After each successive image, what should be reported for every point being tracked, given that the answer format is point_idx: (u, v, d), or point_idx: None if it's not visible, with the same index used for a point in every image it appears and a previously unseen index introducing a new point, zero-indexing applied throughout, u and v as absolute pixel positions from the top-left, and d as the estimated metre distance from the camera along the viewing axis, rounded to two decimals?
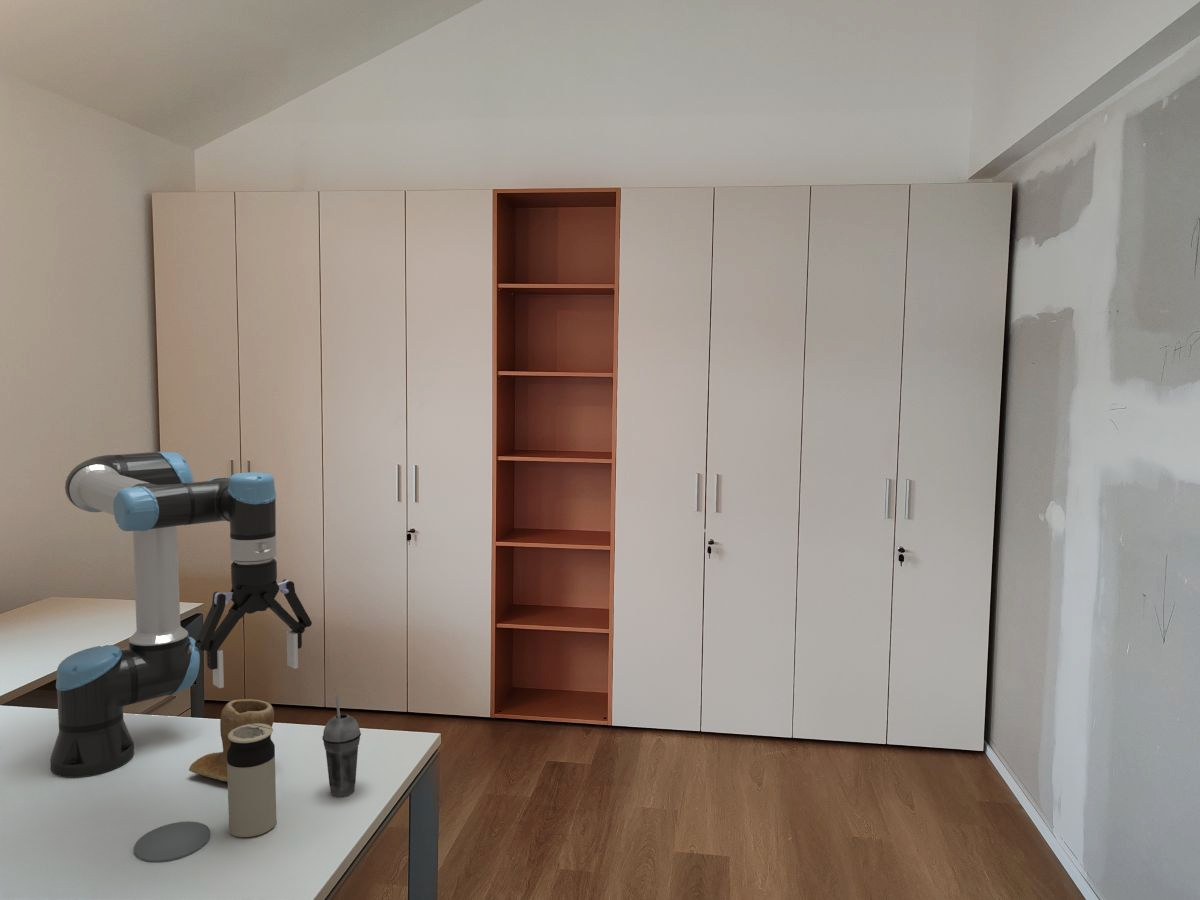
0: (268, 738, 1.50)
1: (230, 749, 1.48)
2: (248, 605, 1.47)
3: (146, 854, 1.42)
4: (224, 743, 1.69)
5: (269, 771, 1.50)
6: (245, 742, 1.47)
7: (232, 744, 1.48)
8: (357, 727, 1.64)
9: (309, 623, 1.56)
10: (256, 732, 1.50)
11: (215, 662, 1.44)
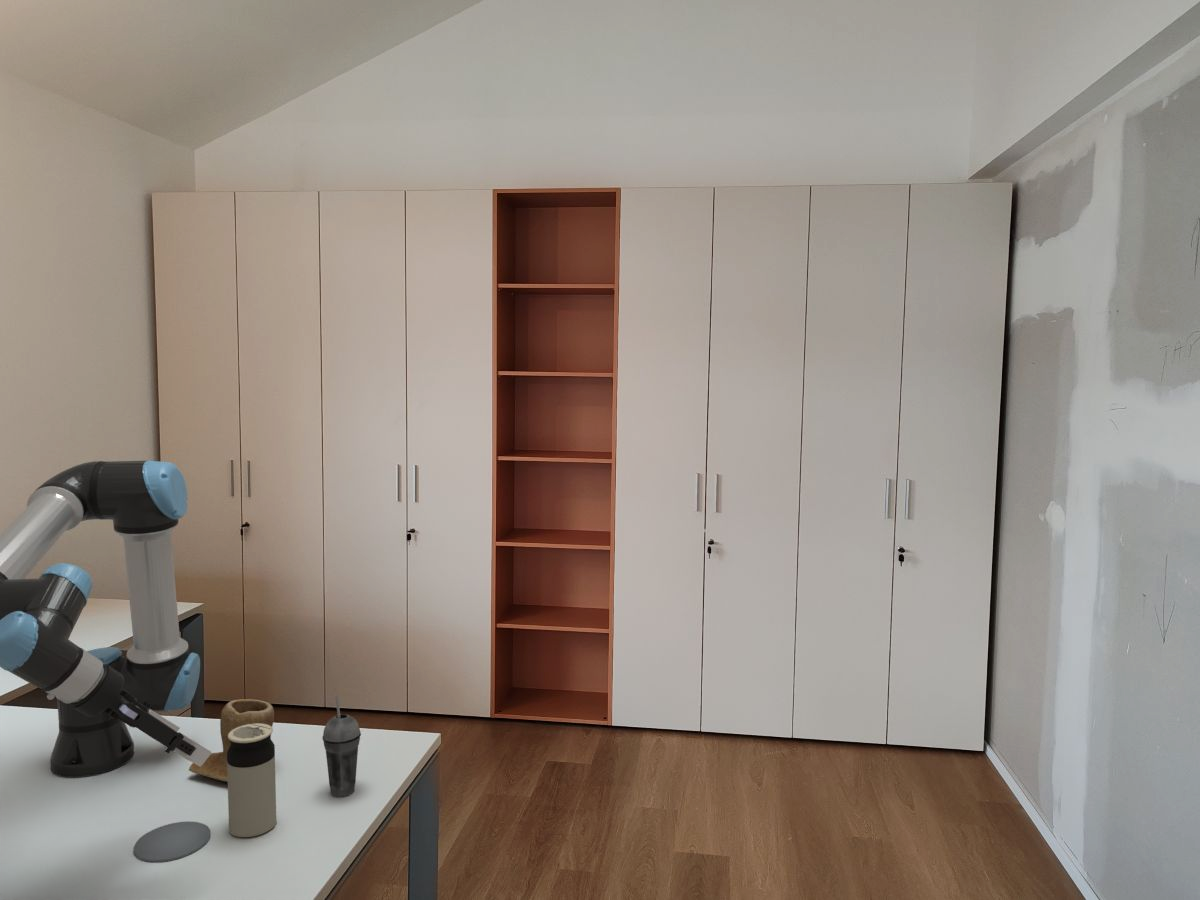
0: (268, 738, 1.50)
1: (230, 749, 1.48)
2: None
3: (146, 854, 1.42)
4: (224, 743, 1.69)
5: (269, 771, 1.50)
6: (245, 742, 1.47)
7: (232, 744, 1.48)
8: (357, 727, 1.64)
9: (169, 749, 1.31)
10: (256, 732, 1.50)
11: None
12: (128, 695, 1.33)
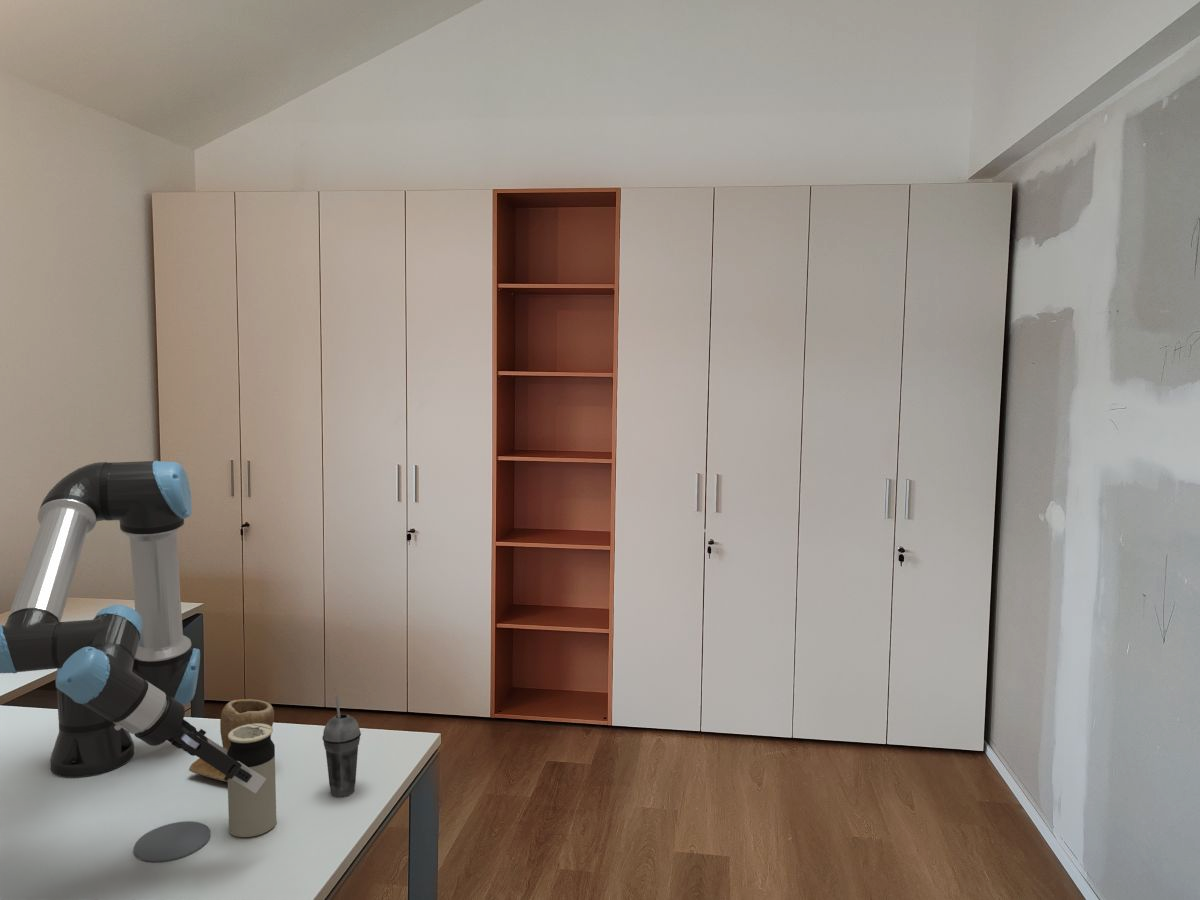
0: (268, 738, 1.50)
1: (230, 749, 1.48)
2: None
3: (146, 854, 1.42)
4: (224, 743, 1.69)
5: (269, 771, 1.50)
6: (245, 742, 1.47)
7: (232, 744, 1.48)
8: (357, 727, 1.64)
9: (228, 777, 1.37)
10: (256, 732, 1.50)
11: None
12: (188, 725, 1.40)
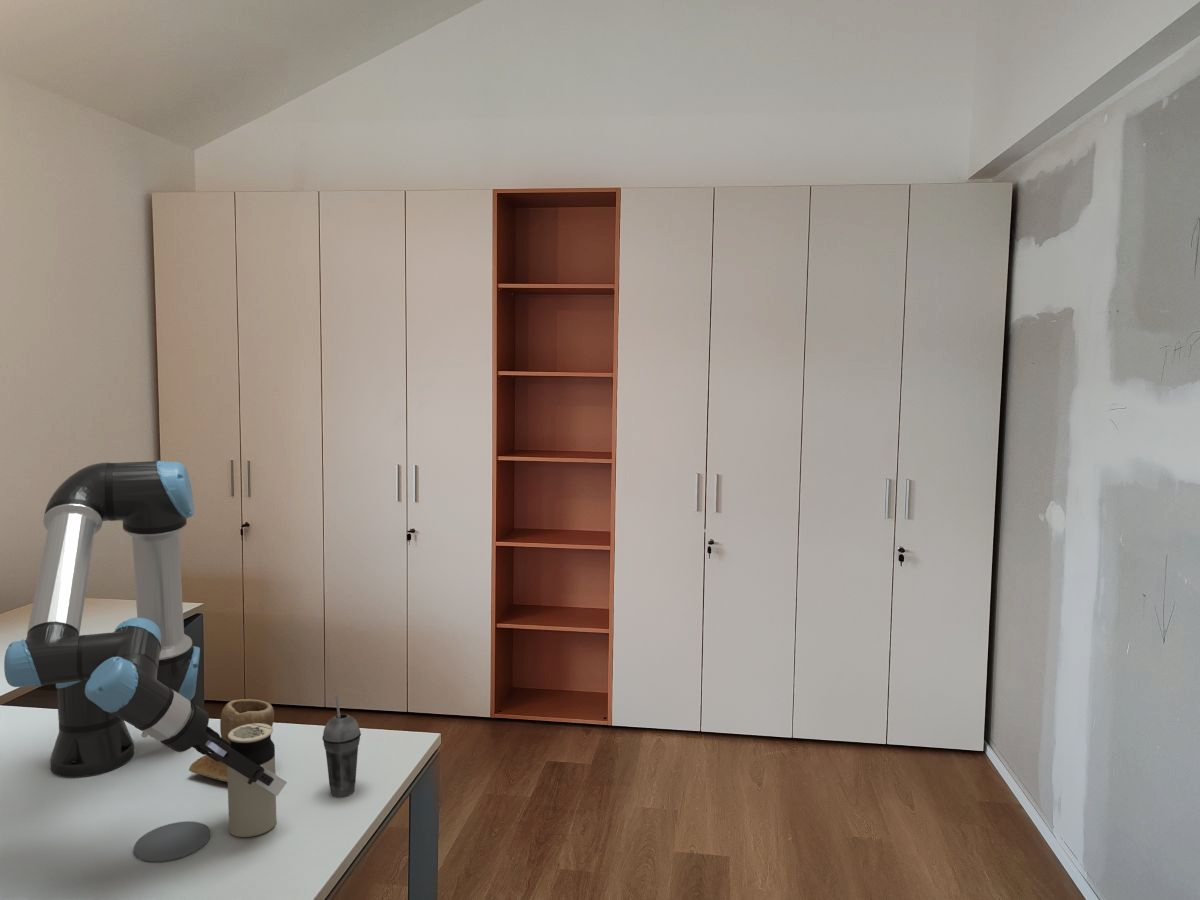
0: (268, 738, 1.50)
1: None
2: None
3: (146, 854, 1.42)
4: None
5: None
6: (245, 742, 1.47)
7: (232, 744, 1.48)
8: (357, 727, 1.64)
9: (252, 781, 1.44)
10: (256, 732, 1.50)
11: None
12: (213, 732, 1.44)
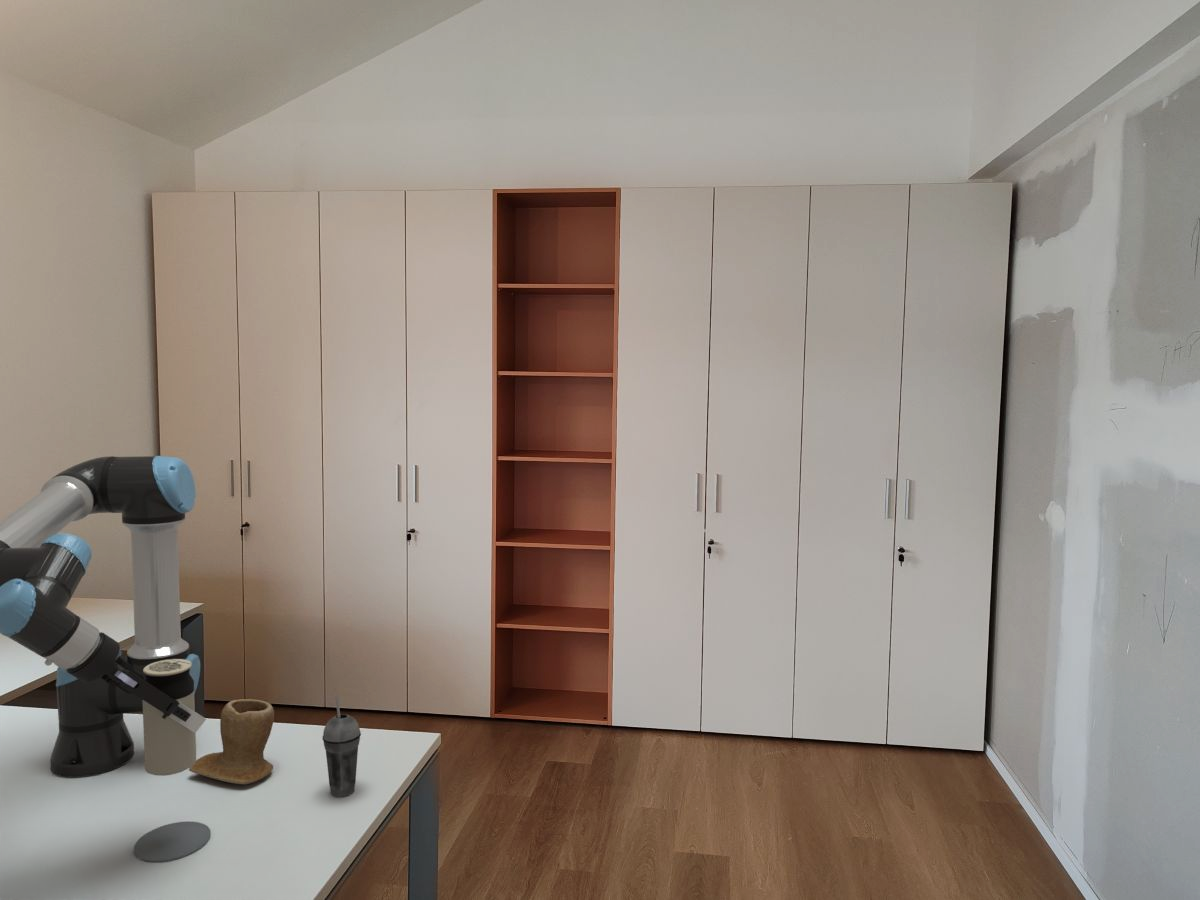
0: (186, 672, 1.44)
1: None
2: None
3: (146, 854, 1.42)
4: (224, 743, 1.69)
5: None
6: (160, 675, 1.40)
7: (147, 678, 1.41)
8: (357, 727, 1.64)
9: (165, 714, 1.37)
10: (173, 666, 1.44)
11: None
12: (124, 663, 1.37)
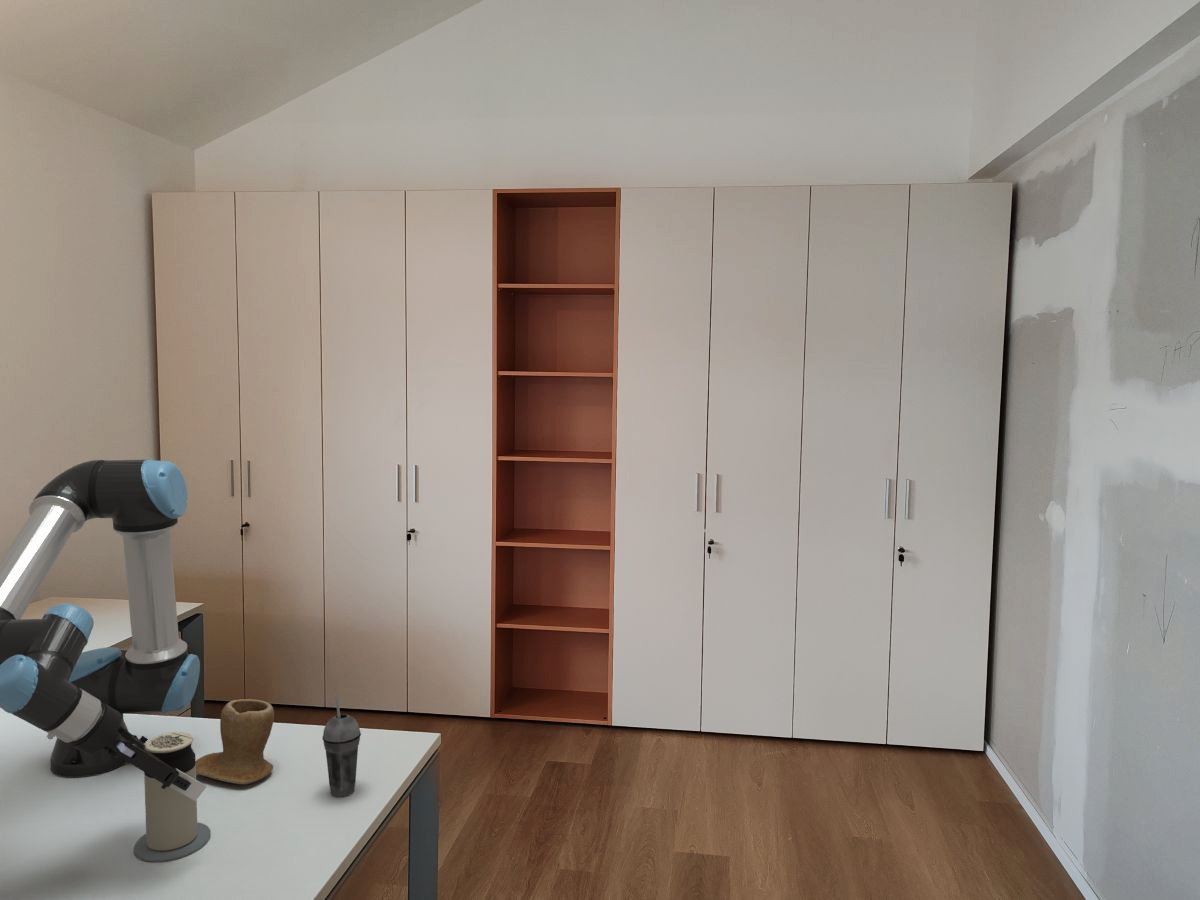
0: (187, 748, 1.45)
1: None
2: None
3: (146, 854, 1.42)
4: (224, 743, 1.69)
5: None
6: (162, 752, 1.41)
7: None
8: (357, 727, 1.64)
9: (165, 785, 1.36)
10: (175, 741, 1.45)
11: None
12: (125, 732, 1.38)
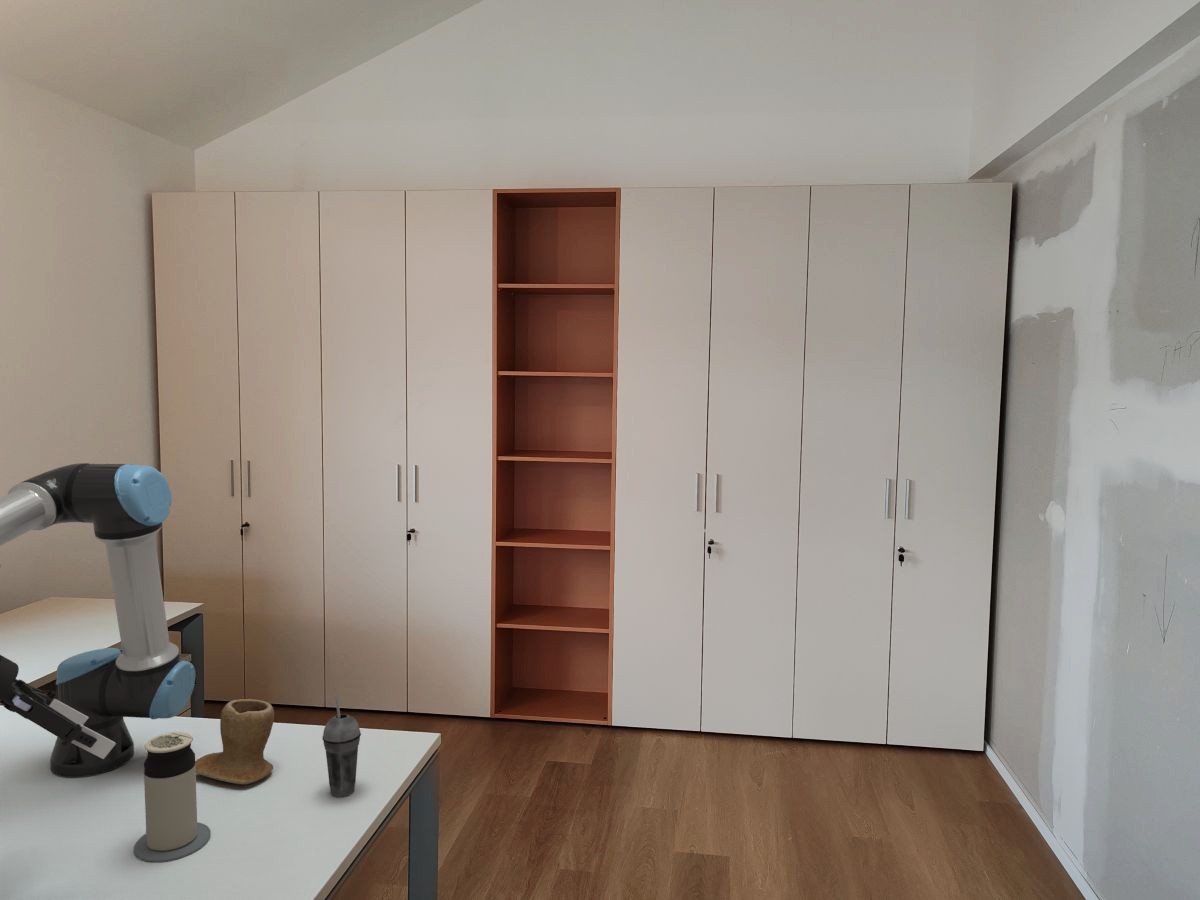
0: (187, 748, 1.45)
1: (147, 759, 1.43)
2: None
3: (146, 854, 1.42)
4: (224, 743, 1.69)
5: (187, 782, 1.44)
6: (161, 752, 1.42)
7: (148, 754, 1.43)
8: (357, 727, 1.64)
9: (65, 742, 1.26)
10: (174, 741, 1.45)
11: None
12: (24, 686, 1.28)
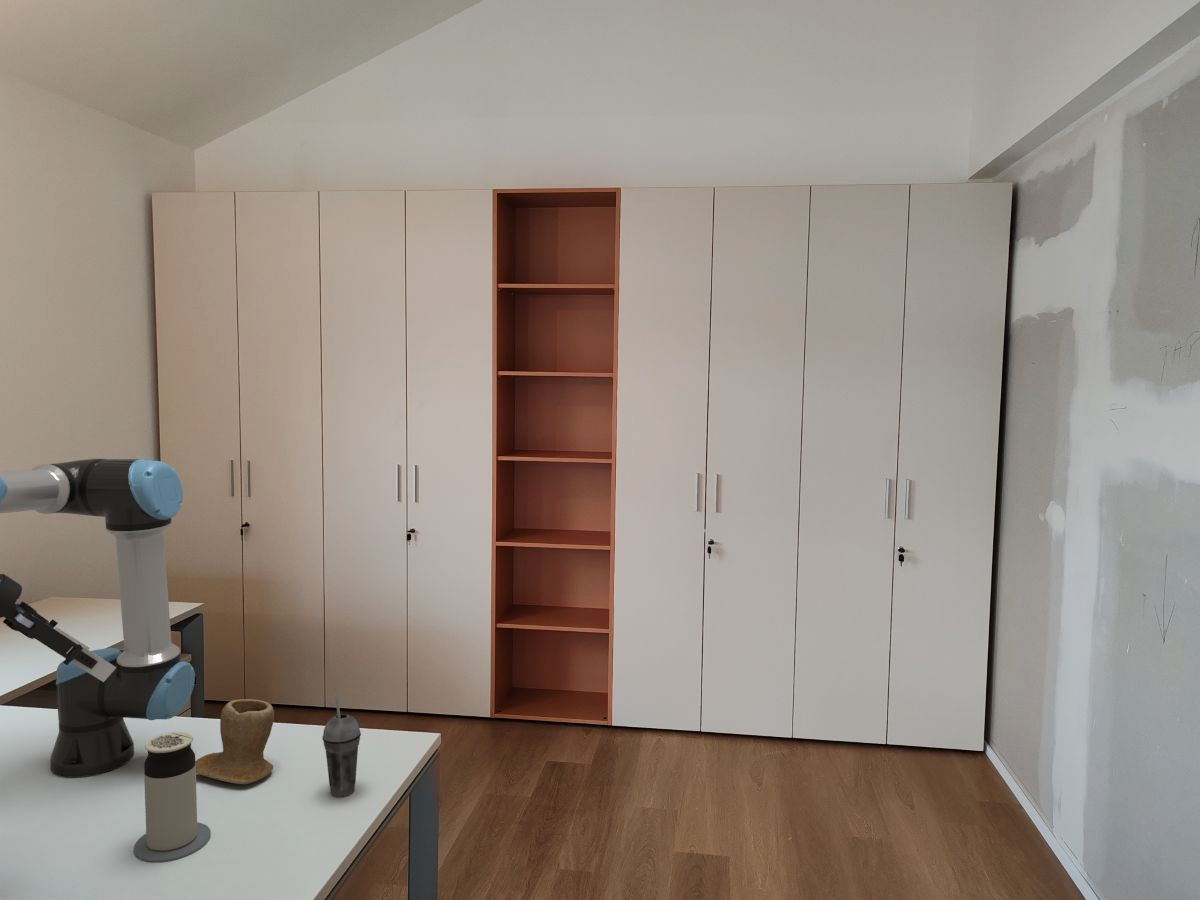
0: (187, 748, 1.45)
1: (147, 759, 1.43)
2: None
3: (146, 854, 1.42)
4: (224, 743, 1.69)
5: (188, 782, 1.44)
6: (161, 752, 1.42)
7: (149, 754, 1.43)
8: (357, 727, 1.64)
9: (67, 660, 1.28)
10: (175, 741, 1.45)
11: None
12: (26, 606, 1.30)
